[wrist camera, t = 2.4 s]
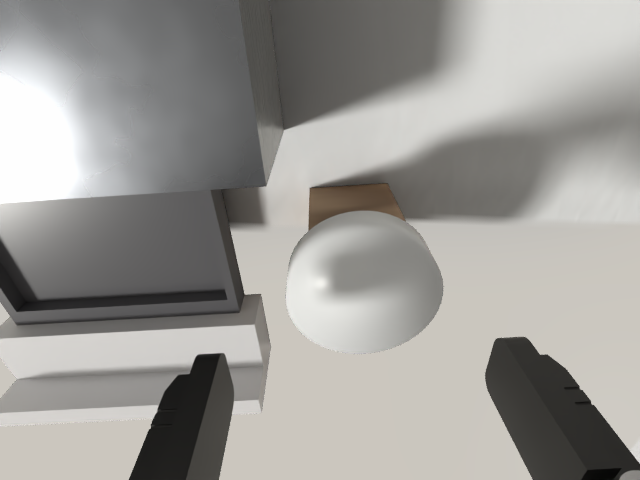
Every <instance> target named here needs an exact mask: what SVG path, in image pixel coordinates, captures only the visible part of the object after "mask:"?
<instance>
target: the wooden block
mask: <svg viewBox="0 0 640 480" xmlns="http://www.w3.org/2000/svg"><path fill="white" fill-rule="evenodd" d="M352 211H377V212H382V213H386V214H390V215H393V216H395V217H398V218H400V219H402V220H403V221H405V219H404V217H403V215H402V212H401V210H400V208H399V206H398V204H397V202H396V200H395V198H394V196H393V194H392V192H391V190H390V188H389V186H388V184H387V183H383V184H368V185H352V186H336V187H320V188H310V198H309V230H310V229H311V228H313V227H314V226H316V225H317V224H319V223H320V222H322V221H324V220H326V219H328V218H330V217H333V216H336V215H338V214H342V213H346V212H352ZM405 222H406V221H405Z"/></svg>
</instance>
